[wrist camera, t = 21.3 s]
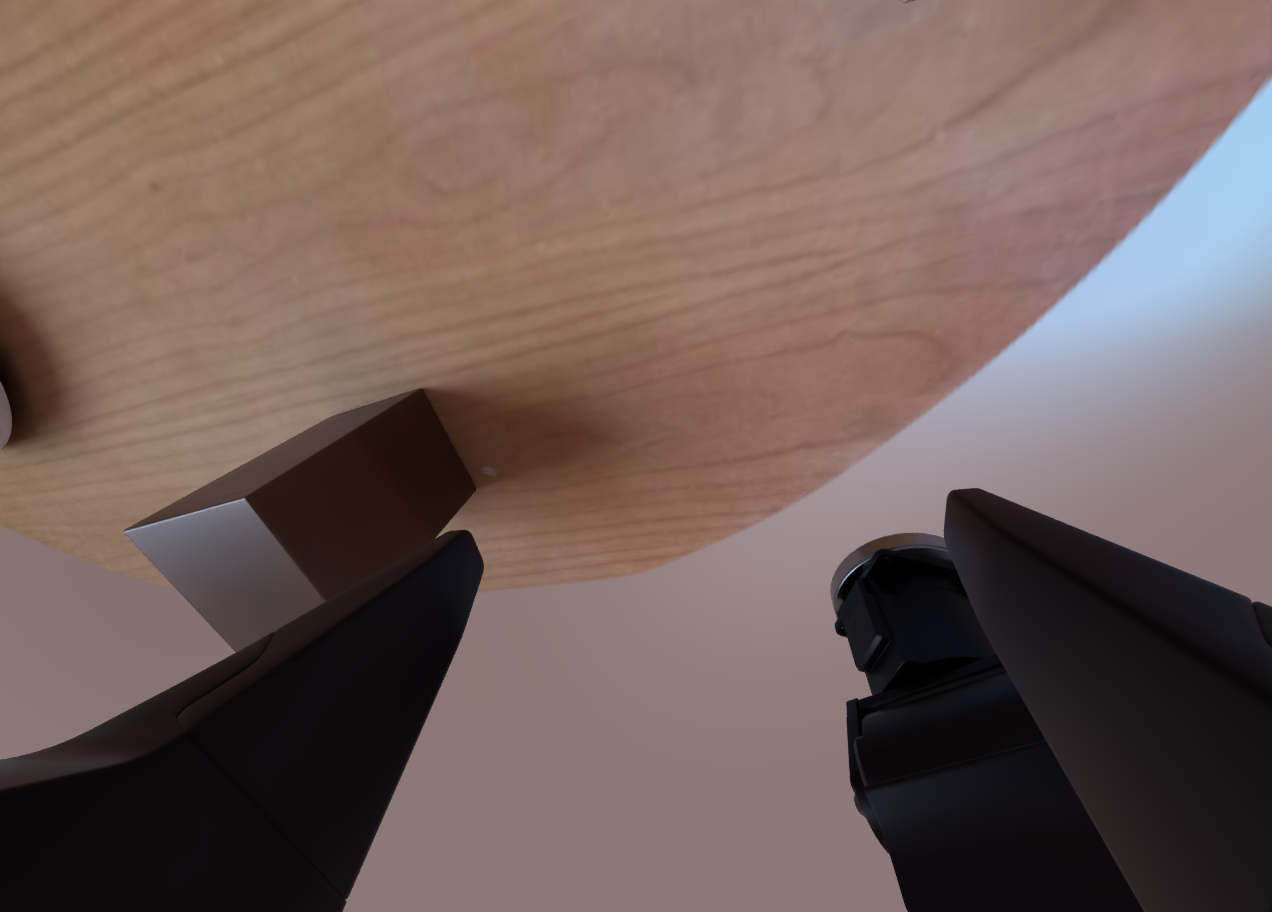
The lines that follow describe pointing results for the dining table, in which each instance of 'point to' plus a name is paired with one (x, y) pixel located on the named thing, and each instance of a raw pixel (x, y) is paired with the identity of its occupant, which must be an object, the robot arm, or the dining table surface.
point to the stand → (309, 517)
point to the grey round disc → (4, 418)
